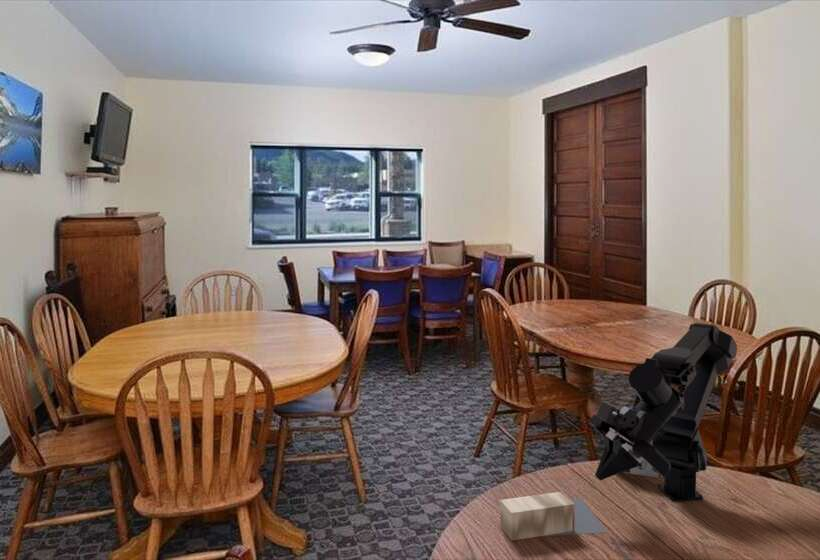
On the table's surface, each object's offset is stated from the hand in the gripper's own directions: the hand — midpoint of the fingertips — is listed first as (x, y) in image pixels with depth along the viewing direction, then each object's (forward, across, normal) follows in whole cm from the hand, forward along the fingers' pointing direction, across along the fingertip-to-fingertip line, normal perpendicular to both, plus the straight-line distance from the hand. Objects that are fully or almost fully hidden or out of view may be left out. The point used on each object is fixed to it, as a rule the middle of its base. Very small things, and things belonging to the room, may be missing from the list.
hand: (597, 478), depth 110 cm
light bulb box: (-8, -19, +20) cm, 28 cm away
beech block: (+8, 0, -1) cm, 8 cm away
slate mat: (+11, -3, 0) cm, 11 cm away
